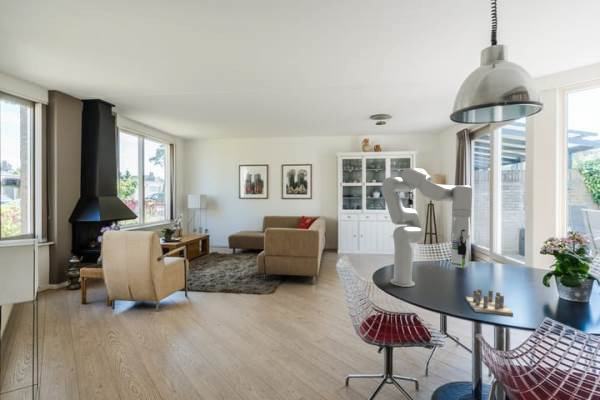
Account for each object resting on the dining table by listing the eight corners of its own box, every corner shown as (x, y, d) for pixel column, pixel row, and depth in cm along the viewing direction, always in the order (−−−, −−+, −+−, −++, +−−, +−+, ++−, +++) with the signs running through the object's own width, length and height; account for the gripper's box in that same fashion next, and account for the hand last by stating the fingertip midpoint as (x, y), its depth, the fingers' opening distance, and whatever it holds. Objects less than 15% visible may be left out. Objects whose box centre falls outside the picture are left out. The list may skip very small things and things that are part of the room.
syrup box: (450, 265, 135) (451, 233, 134) (454, 264, 139) (456, 232, 139) (464, 268, 131) (465, 235, 130) (468, 266, 135) (470, 234, 135)
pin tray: (465, 299, 144) (466, 286, 144) (499, 302, 140) (500, 289, 140) (475, 311, 129) (475, 297, 129) (513, 316, 125) (513, 301, 125)
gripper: (448, 211, 144) (446, 248, 144) (456, 214, 127) (454, 256, 128) (466, 212, 142) (464, 250, 142) (476, 215, 125) (474, 257, 125)
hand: (459, 252), depth 135 cm, fingers closed on syrup box, 7 cm apart
